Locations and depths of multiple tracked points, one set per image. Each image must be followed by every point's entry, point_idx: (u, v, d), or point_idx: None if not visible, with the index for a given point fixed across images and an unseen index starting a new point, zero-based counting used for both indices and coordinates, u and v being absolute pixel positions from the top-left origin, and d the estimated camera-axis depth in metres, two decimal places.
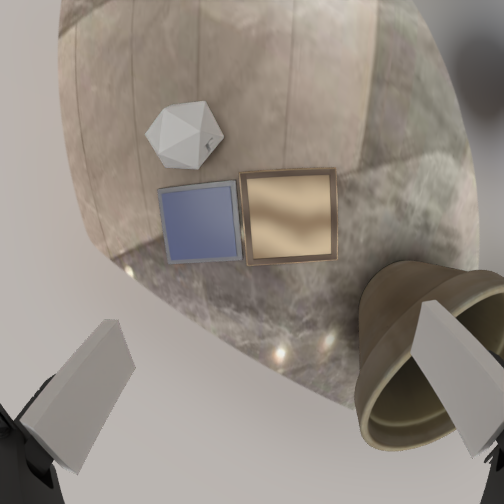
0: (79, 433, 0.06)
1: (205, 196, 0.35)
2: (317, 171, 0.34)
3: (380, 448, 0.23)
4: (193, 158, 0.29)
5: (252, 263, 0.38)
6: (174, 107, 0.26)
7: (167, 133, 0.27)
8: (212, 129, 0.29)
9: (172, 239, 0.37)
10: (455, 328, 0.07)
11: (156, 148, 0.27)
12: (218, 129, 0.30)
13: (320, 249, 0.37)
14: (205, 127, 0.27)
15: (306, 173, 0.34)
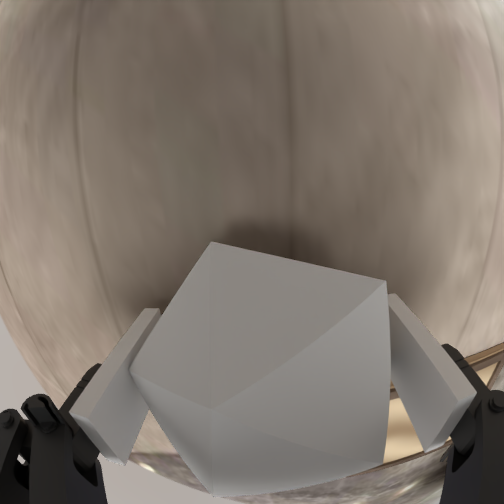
0: (127, 421, 0.07)
1: None
2: (491, 361, 0.12)
3: None
4: None
5: (353, 475, 0.17)
6: (273, 382, 0.05)
7: (245, 476, 0.05)
8: None
9: None
10: (408, 320, 0.08)
11: (198, 477, 0.06)
12: None
13: None
14: None
15: (478, 368, 0.12)
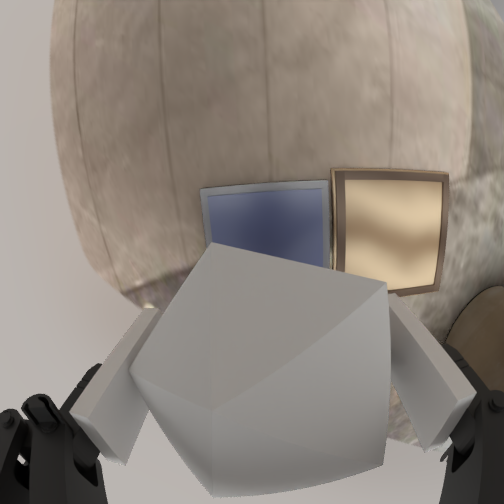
0: (128, 421, 0.07)
1: (281, 203, 0.22)
2: (431, 176, 0.21)
3: None
4: None
5: None
6: (273, 383, 0.05)
7: (245, 477, 0.05)
8: None
9: None
10: (408, 320, 0.08)
11: (198, 478, 0.06)
12: None
13: (423, 279, 0.24)
14: None
15: (419, 177, 0.21)
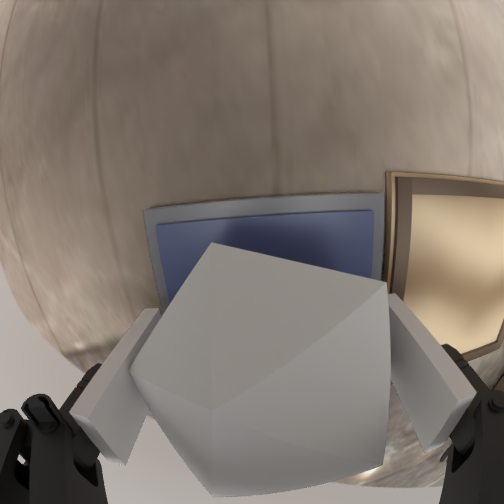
0: (128, 421, 0.07)
1: (298, 238, 0.11)
2: None
3: None
4: None
5: None
6: (273, 383, 0.05)
7: (245, 476, 0.05)
8: None
9: None
10: (408, 320, 0.08)
11: (198, 478, 0.06)
12: None
13: (487, 337, 0.13)
14: None
15: None
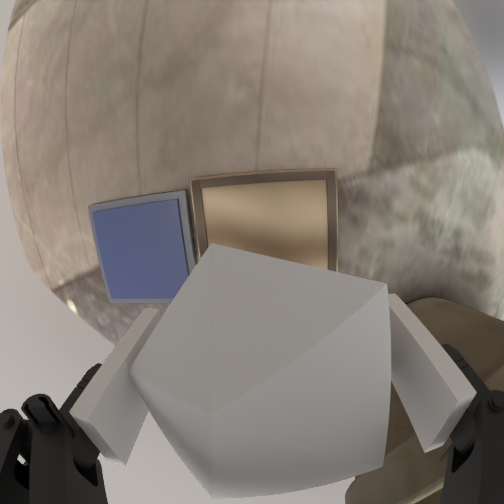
0: (128, 421, 0.07)
1: (144, 214, 0.24)
2: (307, 175, 0.22)
3: None
4: None
5: None
6: (273, 385, 0.05)
7: (244, 478, 0.05)
8: None
9: (109, 272, 0.26)
10: (408, 320, 0.08)
11: (198, 479, 0.06)
12: None
13: None
14: None
15: (290, 177, 0.22)
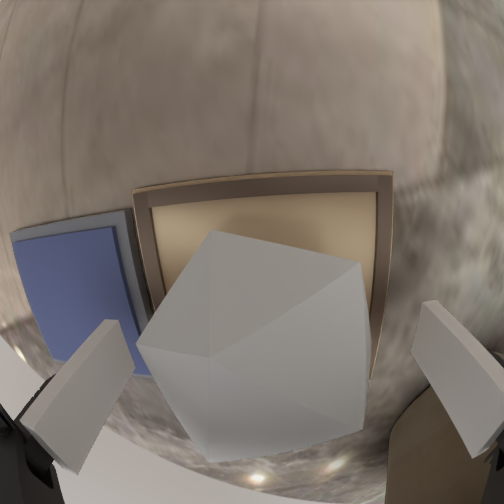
0: (79, 433, 0.06)
1: (69, 251, 0.13)
2: (345, 182, 0.12)
3: None
4: None
5: None
6: (260, 337, 0.06)
7: (237, 434, 0.06)
8: (369, 363, 0.09)
9: (43, 327, 0.15)
10: (455, 328, 0.07)
11: (196, 442, 0.07)
12: (370, 337, 0.10)
13: None
14: (366, 388, 0.07)
15: (313, 185, 0.12)
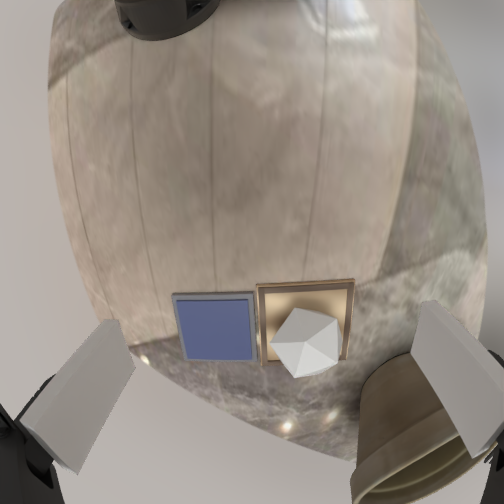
0: (79, 433, 0.06)
1: (222, 308, 0.35)
2: (336, 286, 0.34)
3: None
4: (320, 372, 0.31)
5: (266, 364, 0.37)
6: (313, 337, 0.28)
7: (306, 363, 0.28)
8: (340, 346, 0.30)
9: (188, 342, 0.37)
10: (455, 328, 0.07)
11: (291, 371, 0.29)
12: (341, 339, 0.32)
13: None
14: (338, 352, 0.29)
15: (325, 287, 0.34)
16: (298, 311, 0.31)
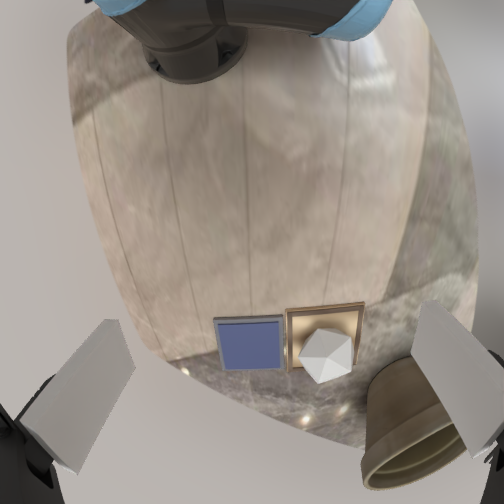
0: (79, 433, 0.06)
1: (257, 329, 0.42)
2: (349, 309, 0.40)
3: (375, 489, 0.29)
4: (337, 377, 0.38)
5: (291, 371, 0.45)
6: (333, 353, 0.35)
7: (327, 373, 0.35)
8: (352, 357, 0.37)
9: (227, 356, 0.44)
10: (455, 328, 0.07)
11: (315, 378, 0.36)
12: (353, 351, 0.39)
13: None
14: (351, 363, 0.36)
15: (340, 310, 0.41)
16: (320, 332, 0.38)
